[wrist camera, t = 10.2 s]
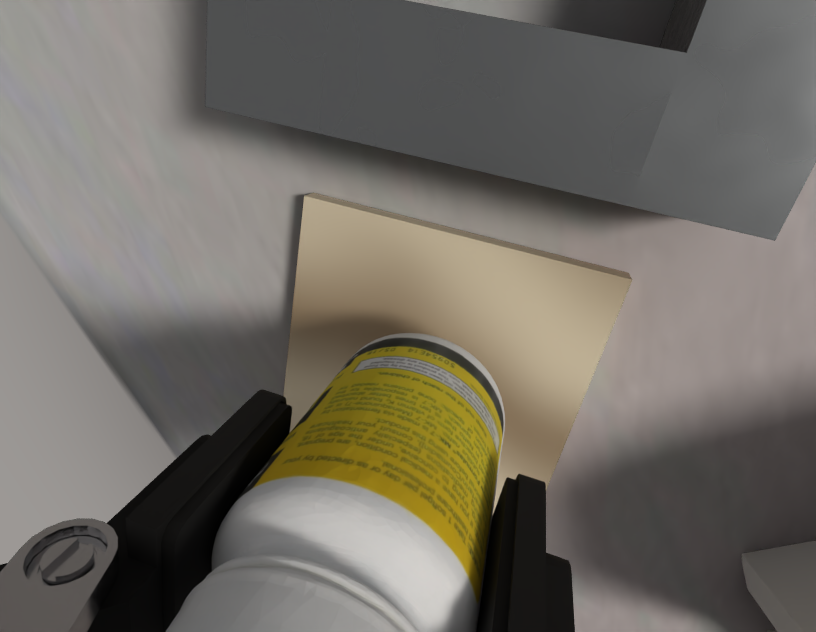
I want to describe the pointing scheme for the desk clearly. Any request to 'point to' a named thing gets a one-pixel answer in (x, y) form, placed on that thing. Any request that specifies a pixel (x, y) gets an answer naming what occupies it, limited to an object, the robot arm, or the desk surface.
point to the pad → (452, 316)
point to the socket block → (545, 97)
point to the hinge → (784, 585)
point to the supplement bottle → (367, 504)
